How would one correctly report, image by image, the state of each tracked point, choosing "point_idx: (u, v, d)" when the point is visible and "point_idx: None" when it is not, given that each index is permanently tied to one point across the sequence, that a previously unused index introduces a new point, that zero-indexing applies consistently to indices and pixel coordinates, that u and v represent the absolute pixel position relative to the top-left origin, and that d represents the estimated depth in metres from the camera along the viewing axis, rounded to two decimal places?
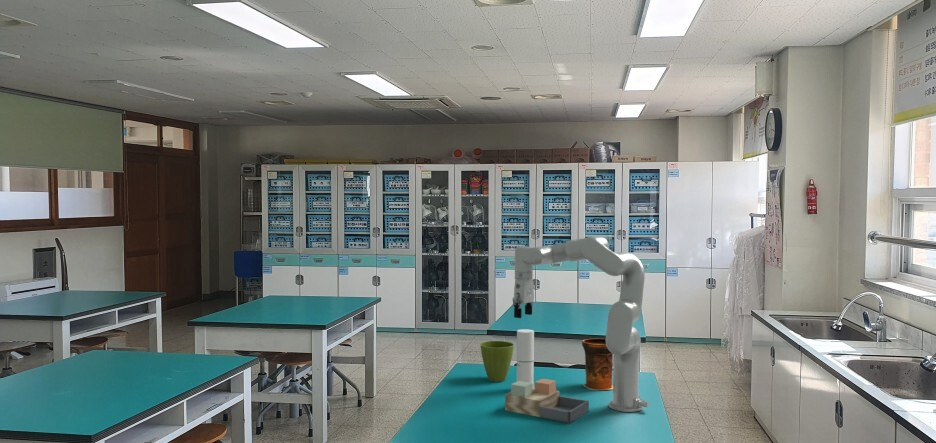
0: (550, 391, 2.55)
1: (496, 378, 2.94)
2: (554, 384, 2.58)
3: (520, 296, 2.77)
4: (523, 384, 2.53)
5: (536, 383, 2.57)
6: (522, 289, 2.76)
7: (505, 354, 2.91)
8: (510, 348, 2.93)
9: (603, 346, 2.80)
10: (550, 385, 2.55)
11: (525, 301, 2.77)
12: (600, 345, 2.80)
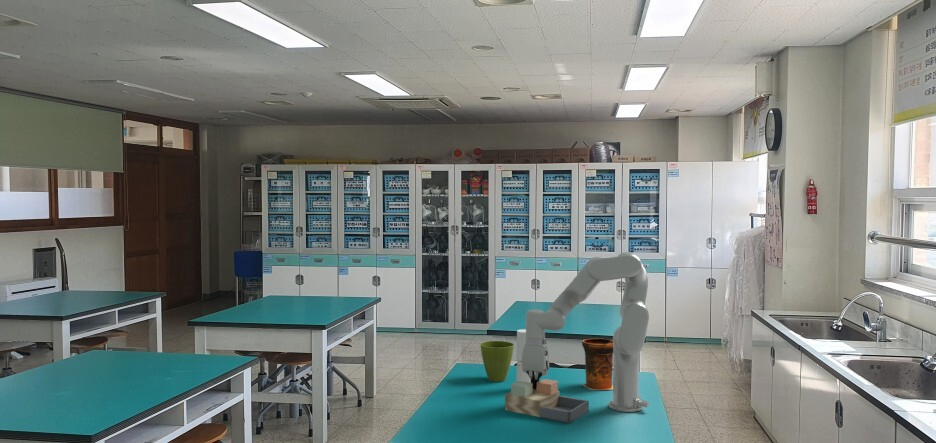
0: (552, 391, 2.54)
1: (496, 378, 2.94)
2: (556, 384, 2.57)
3: (548, 363, 2.58)
4: (523, 384, 2.53)
5: (538, 383, 2.56)
6: (548, 355, 2.59)
7: (505, 354, 2.91)
8: (510, 348, 2.93)
9: (603, 346, 2.80)
10: (552, 385, 2.54)
11: None
12: (600, 345, 2.80)
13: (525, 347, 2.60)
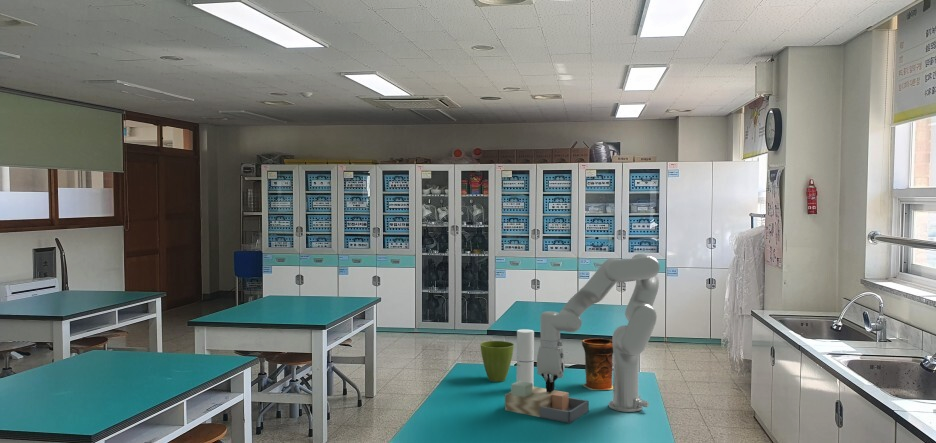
0: None
1: (496, 378, 2.94)
2: None
3: (563, 365, 2.55)
4: (523, 384, 2.53)
5: (560, 397, 2.51)
6: (563, 357, 2.56)
7: (505, 354, 2.91)
8: (510, 348, 2.93)
9: (603, 346, 2.80)
10: None
11: None
12: (600, 345, 2.80)
13: (540, 349, 2.56)
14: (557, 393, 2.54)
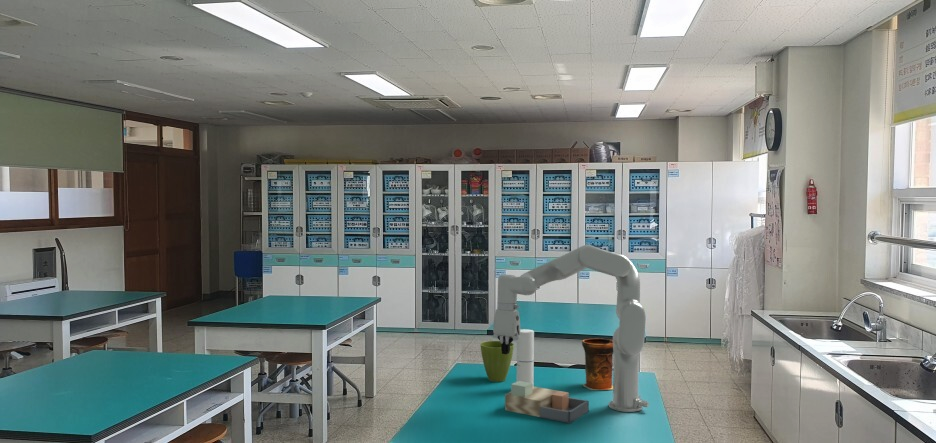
0: None
1: (496, 378, 2.94)
2: None
3: (519, 328, 2.58)
4: (523, 384, 2.53)
5: (560, 397, 2.51)
6: (519, 320, 2.59)
7: (505, 354, 2.91)
8: (510, 348, 2.93)
9: (603, 346, 2.80)
10: None
11: None
12: (600, 345, 2.80)
13: (496, 312, 2.59)
14: (557, 393, 2.54)
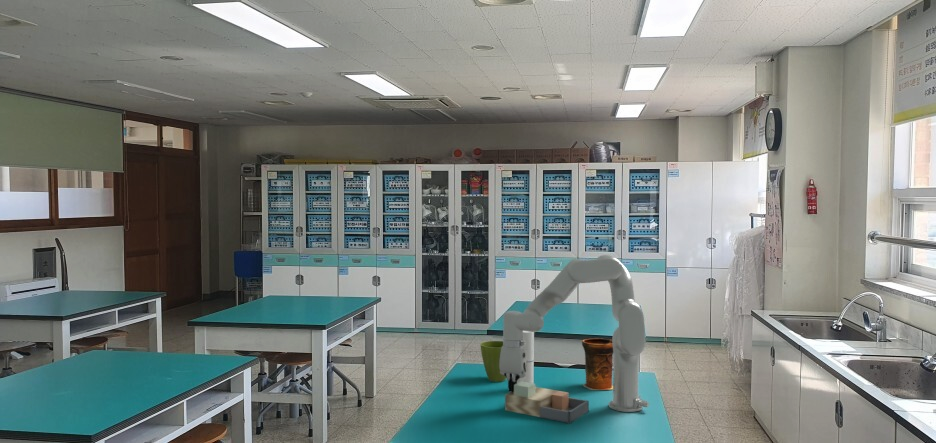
0: None
1: (496, 378, 2.94)
2: None
3: (525, 365, 2.55)
4: (526, 385, 2.53)
5: (560, 397, 2.51)
6: None
7: None
8: None
9: (603, 346, 2.80)
10: None
11: None
12: (600, 345, 2.80)
13: (502, 349, 2.56)
14: (557, 393, 2.54)
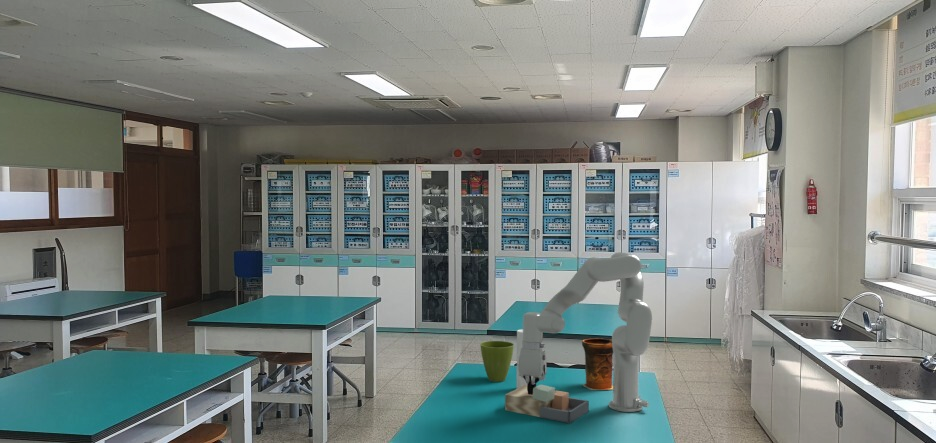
0: None
1: (496, 378, 2.94)
2: None
3: (545, 368, 2.50)
4: (545, 388, 2.48)
5: (560, 397, 2.51)
6: None
7: (505, 354, 2.91)
8: (510, 348, 2.93)
9: (603, 346, 2.80)
10: None
11: None
12: (600, 345, 2.80)
13: (522, 351, 2.51)
14: (557, 393, 2.54)
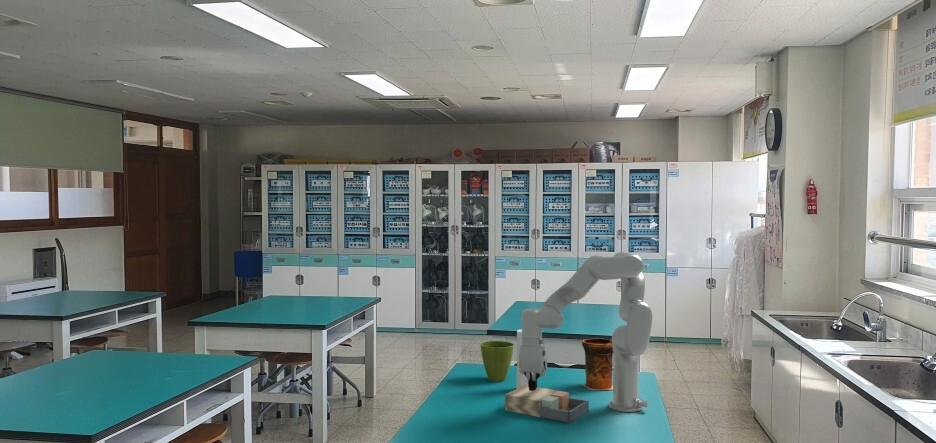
0: None
1: (496, 378, 2.94)
2: None
3: (546, 363, 2.50)
4: None
5: (560, 397, 2.51)
6: None
7: (505, 354, 2.91)
8: (510, 348, 2.93)
9: (603, 346, 2.80)
10: None
11: None
12: (600, 345, 2.80)
13: (522, 347, 2.52)
14: (557, 393, 2.54)
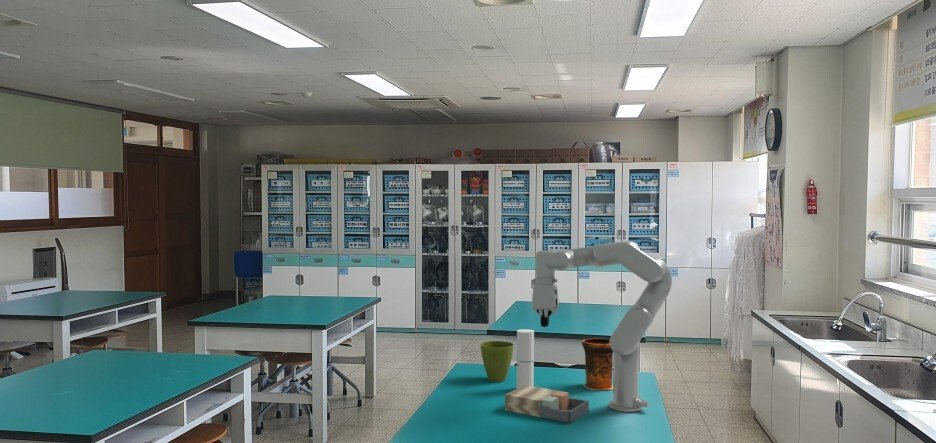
0: None
1: (496, 378, 2.94)
2: None
3: (557, 301, 2.68)
4: None
5: (560, 397, 2.51)
6: (557, 294, 2.69)
7: (505, 354, 2.91)
8: (510, 348, 2.93)
9: (603, 346, 2.80)
10: None
11: None
12: (600, 345, 2.80)
13: (535, 286, 2.69)
14: (557, 393, 2.54)
